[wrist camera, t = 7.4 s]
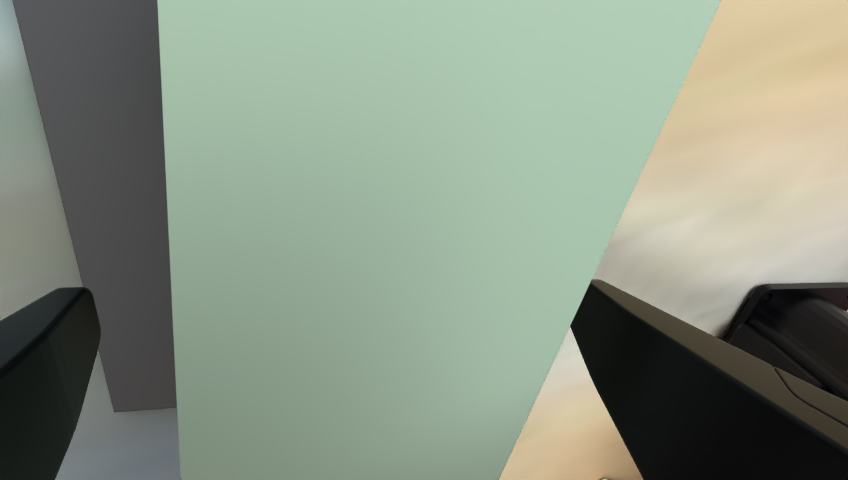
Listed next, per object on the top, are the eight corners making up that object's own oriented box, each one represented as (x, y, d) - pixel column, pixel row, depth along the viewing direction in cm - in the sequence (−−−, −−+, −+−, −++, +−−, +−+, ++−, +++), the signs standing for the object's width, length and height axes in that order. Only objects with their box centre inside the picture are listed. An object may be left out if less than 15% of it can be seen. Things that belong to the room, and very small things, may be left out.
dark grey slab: (638, -154, 12) (794, -197, 8) (485, 364, 21) (527, 455, 17) (-45, -352, 8) (-326, -600, 4) (122, 389, 17) (76, 514, 13)
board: (418, 434, 15) (455, 572, 12) (212, 448, 13) (186, 616, 10) (582, -90, 8) (773, -113, 5) (214, -212, 7) (141, -370, 3)
